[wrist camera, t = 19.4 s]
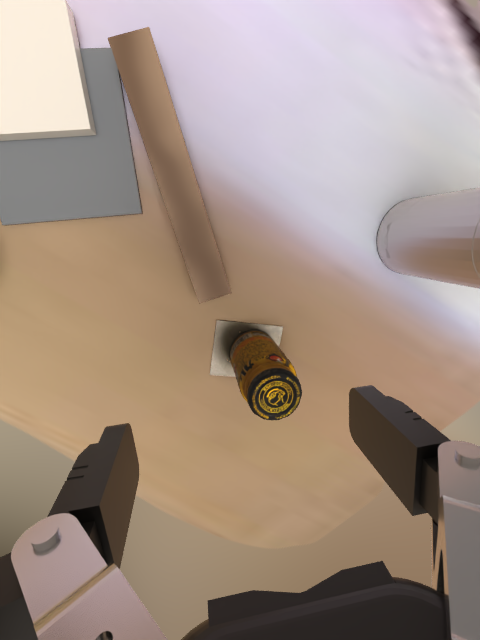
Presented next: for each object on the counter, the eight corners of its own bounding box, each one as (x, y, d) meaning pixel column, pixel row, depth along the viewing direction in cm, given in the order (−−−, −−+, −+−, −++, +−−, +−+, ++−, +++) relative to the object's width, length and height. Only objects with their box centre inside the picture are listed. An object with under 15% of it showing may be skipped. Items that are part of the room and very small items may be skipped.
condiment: (273, 378, 43) (303, 431, 31) (209, 374, 41) (216, 428, 30) (282, 326, 41) (318, 361, 30) (216, 319, 40) (227, 354, 28)
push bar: (155, 57, 32) (148, 26, 27) (226, 285, 39) (231, 293, 34) (120, 67, 32) (107, 37, 27) (198, 295, 39) (199, 303, 34)
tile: (96, 135, 32) (73, 14, 30) (90, 128, 30) (64, -3, 28) (-11, 142, 31) (-45, 16, 28) (-25, 135, 29) (-64, -1, 26)
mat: (115, 51, 31) (114, 47, 31) (142, 213, 35) (141, 213, 35) (-42, 55, 30) (-46, 51, 29) (5, 225, 34) (2, 225, 33)
